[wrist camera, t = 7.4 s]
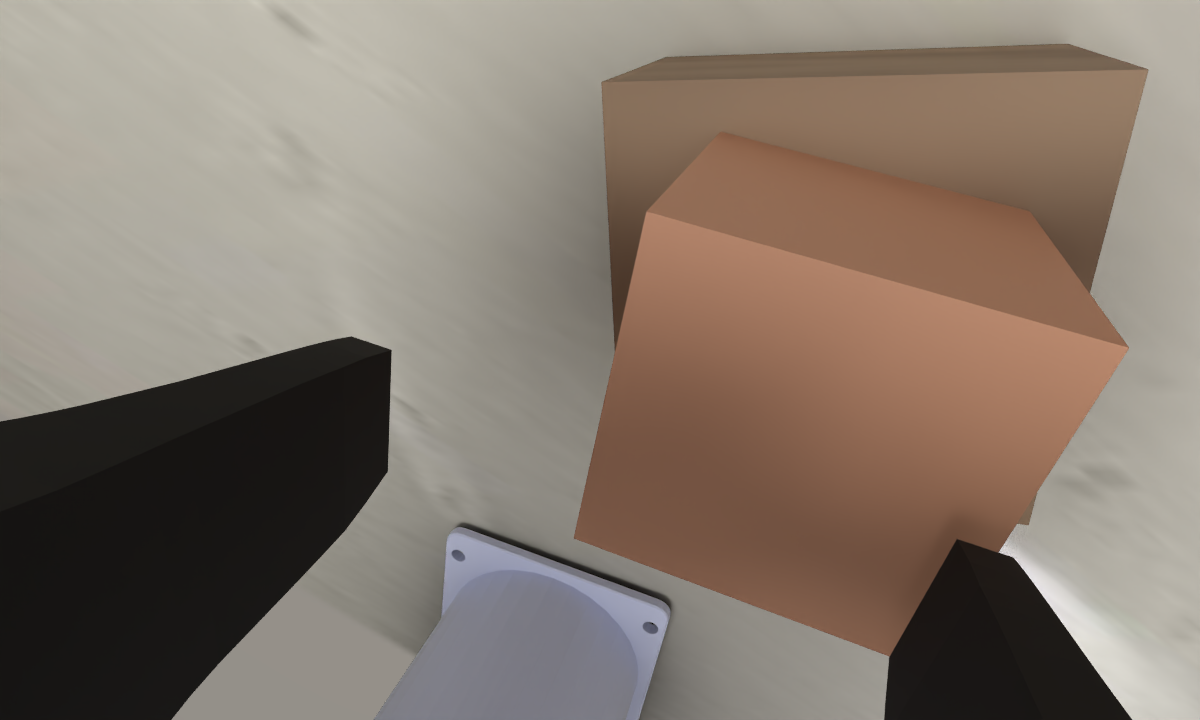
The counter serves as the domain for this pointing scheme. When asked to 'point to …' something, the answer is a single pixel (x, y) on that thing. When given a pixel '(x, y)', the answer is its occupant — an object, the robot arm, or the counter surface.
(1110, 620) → the counter surface
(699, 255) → the terracotta block
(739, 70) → the walnut base
